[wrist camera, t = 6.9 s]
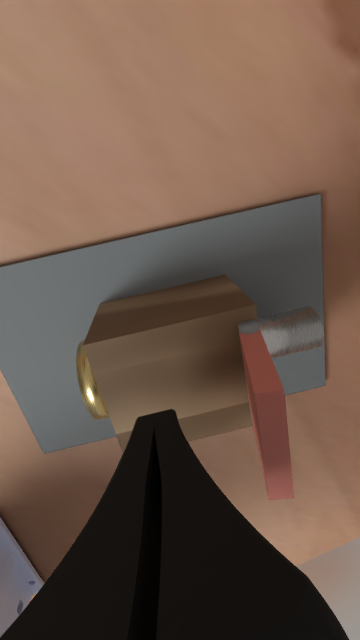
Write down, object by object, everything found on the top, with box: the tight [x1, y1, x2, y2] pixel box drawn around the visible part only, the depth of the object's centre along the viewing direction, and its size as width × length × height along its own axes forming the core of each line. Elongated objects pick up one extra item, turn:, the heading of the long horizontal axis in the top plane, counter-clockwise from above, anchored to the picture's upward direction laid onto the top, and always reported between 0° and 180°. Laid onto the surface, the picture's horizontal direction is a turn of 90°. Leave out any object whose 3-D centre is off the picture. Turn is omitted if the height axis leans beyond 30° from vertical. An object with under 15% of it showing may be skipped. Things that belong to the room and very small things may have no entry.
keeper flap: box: [238, 320, 294, 500], centre depth 11 cm, size 5×4×1 cm
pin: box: [76, 306, 324, 420], centre depth 16 cm, size 4×12×4 cm, turn 102°
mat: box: [0, 194, 325, 454], centre depth 18 cm, size 12×19×1 cm, turn 102°
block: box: [83, 275, 258, 453], centre depth 16 cm, size 6×7×5 cm
